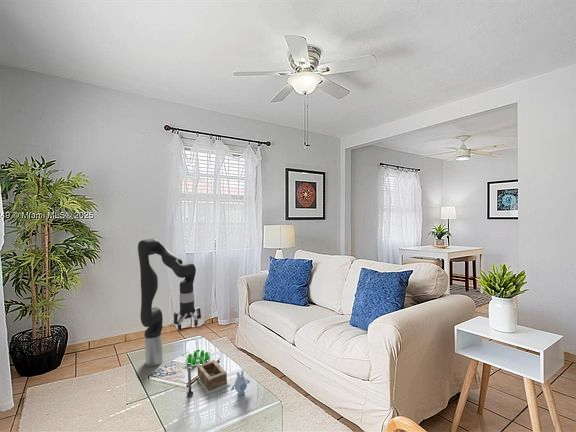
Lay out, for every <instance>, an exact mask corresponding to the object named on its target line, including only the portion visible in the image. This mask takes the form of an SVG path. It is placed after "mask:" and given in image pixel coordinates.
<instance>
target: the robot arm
mask: <svg viewBox="0 0 576 432" xmlns="http://www.w3.org/2000/svg"><path fill="white" fill-rule="evenodd" d="M137 254H138V255H137V256H138V260H139V261H138V262H139V270H140V271H139V272H140V298H141V300H140V303H141V305H140V322H141V325H143V327H145V328H146V330H145V331H144V350H145V364H146V366H147V367H155V366H158V365H160V364H162V363H163V341H162V330H163V322H164V321H163V319H164V317H163V311H162V310H161V308H160V307H157V306H155V307H153V300H154V298H155V296H156V294H157V292H158V288H159V280H158V279H159V277H158V274H157V273H156V270H154V269H153V267H152V265H151V264H150V259H149V258H150V256H152V255H155V254H156V255H158V256H160V257H161V261H162V262H163V264H164V265H166V266H167V267H168V268H170V269H171V270H172V271H173V273H174V275H175V276H176V277H178V278H180V279H182V278H183V279H182V280H181V281H180V283H179V312H176V311H175V312H173V323H174V324H175V325H177V330H178V331H179V332H182V323H183V322H184V320H187V319H191V318H193V323H194V324H193V325H194V326H193V327H195V328H197V327H198V325H199V323H198V322H199V321H198V320H199V319H201V318H202V315H201V314H202V311H201V308H200V307H199V306H197V307H196V308H195V293H194V281H195V277H196V272H197V268H196V266H195V264H194V263H193V262H186V263H183V260H182V259H181V258H179V256H177V255H175V254H173V253H172V252H171V251H170V250H168V249H167V247H165V246H164V244H162V243H161V242H160V241H159V240H157V239H156V238H149V239H148V238H147V239H142V240H140V241H139V242H138V244H137ZM195 313H196V315H195ZM178 317H179V319H178Z"/></svg>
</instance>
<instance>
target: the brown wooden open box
mask: <svg viewBox="0 0 576 432" xmlns="http://www.w3.org/2000/svg"><path fill="white" fill-rule="evenodd" d="M211 373H214V374H215V375H214V376H212V377H210V375H209V374H211ZM227 374H228V373H227V371H226V370H224V368H223V367H222V366H221V365H220V364H219V363H218V362H217V361H216V360H215V359H213V360H211V361H209V362H203V364H202V365H197V376H198V375H199V378H200V380H201V381H202V382H203V384H204V385H205V386H206V387H207V389H208V390H209V391H210V390H213V389H215V388H218V387H220V386H222V385H225V384H227V382H228V375H227Z"/></svg>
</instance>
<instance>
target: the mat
mask: <svg viewBox="0 0 576 432" xmlns="http://www.w3.org/2000/svg"><path fill="white" fill-rule="evenodd" d="M209 375H210V377H212V376H214V375H215V374H214V373H211V374H209ZM197 381H198V383H199V384H200V385H201V386H202V388H203V389H204V391H205V392H206V394H207V395H209V394H212V393H215V392H217V391H219V390H220V391H221V389H224V388H227V387H229V386H230V383H229V382H228V381H227V384H225V385H222V386H220V387H218V388H215V389H213V390H210V391H209V390H208V389H207V387H206V386H205V385H204V384H203V382H202V381H201V380H200V379H198V380H197Z"/></svg>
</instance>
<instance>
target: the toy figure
mask: <svg viewBox="0 0 576 432" xmlns="http://www.w3.org/2000/svg"><path fill="white" fill-rule="evenodd" d="M240 373H241V374H240ZM244 374H245V371H244V370H242V371H241V372H237V374H236V376H237V377H236V379H235V382H234V384H233V386H231V391H234V390H236V392H237V394H236V395H237V396H238V397H240V396H242V395H245V393H246V389H247V387H248V385H247V384H250V383H251V380H249V379H247V378H245V376H244Z"/></svg>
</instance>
